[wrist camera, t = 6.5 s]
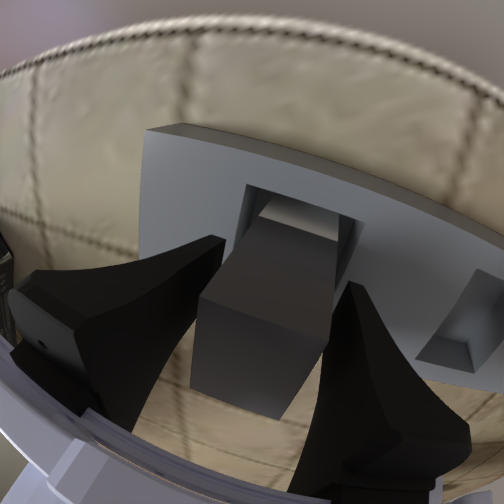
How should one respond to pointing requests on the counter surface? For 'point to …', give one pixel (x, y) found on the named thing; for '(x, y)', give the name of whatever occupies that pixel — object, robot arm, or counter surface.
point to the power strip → (342, 241)
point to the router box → (6, 296)
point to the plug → (268, 309)
